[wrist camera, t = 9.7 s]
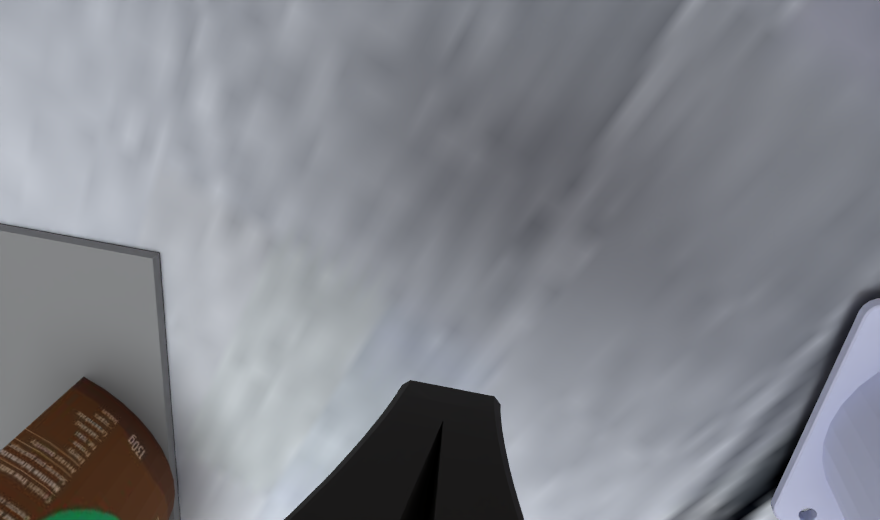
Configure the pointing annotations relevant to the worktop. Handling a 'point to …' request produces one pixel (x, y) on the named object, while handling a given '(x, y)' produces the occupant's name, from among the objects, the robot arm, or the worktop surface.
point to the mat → (81, 330)
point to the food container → (85, 463)
